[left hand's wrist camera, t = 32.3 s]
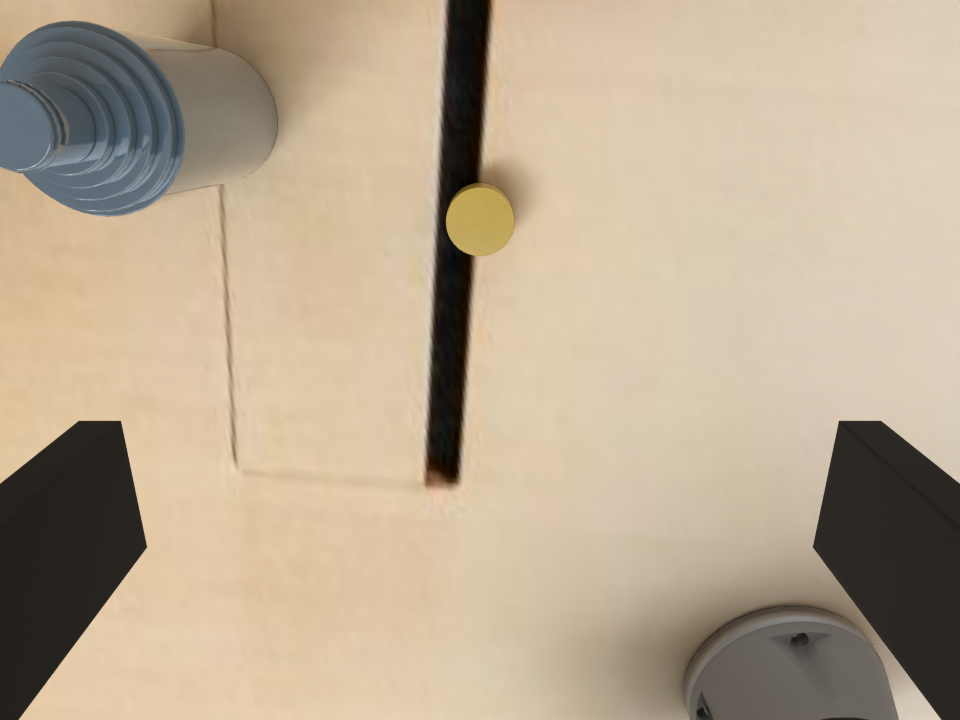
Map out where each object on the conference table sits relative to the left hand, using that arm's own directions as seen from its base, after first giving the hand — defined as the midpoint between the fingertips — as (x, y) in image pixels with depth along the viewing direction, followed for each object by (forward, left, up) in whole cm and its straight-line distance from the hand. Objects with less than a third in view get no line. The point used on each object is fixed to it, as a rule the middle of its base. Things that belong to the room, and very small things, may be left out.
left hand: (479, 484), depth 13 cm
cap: (0, 0, -29) cm, 29 cm away
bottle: (+16, +6, -31) cm, 35 cm away
